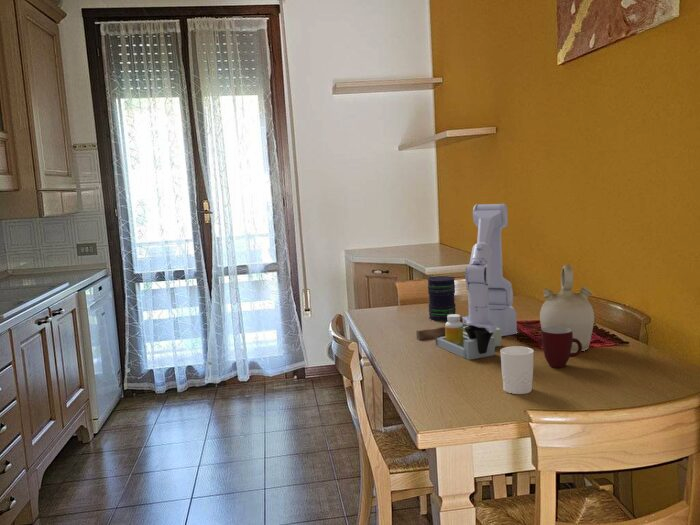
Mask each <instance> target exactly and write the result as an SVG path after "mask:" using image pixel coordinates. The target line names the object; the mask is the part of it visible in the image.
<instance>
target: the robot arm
mask: <svg viewBox="0 0 700 525" xmlns="http://www.w3.org/2000/svg"><path fill="white" fill-rule="evenodd" d="M508 216H509V215H508V206H507V204H506V203H493V204H492V203H487V204H486V203H485V204H483V203H482V204H478V203H475V205H474V206H473V208H472V220H473V223H474V224H475V227H476V228H477V240H476V241H477V242H476V243H475V244H474V245H472V248H471V254H470V259H469V263H468V264H469V265H468V266H467V265H466V267H465V271H464V278H465V284H466V286H465V287H466V291H467V295H468V297H467V299H468V301H467V302H468V303H467V304H468V305H467V306H468V315H466V316H462V318H461V319H462V323H464V324H466V325H468V327H465V331H466V332H467V334H468V336H469V339H475V338H477V343H478V351H479V353H480V354H483V353H486V352H487V348H488V344H489V341H490V338H491V336H492V334H493V333H494V332H497V328H499V329H501V337H504V336H505V337H507V336H511V335H518V334H519V331H518V330H517V328H518V326H517V312H516V309H515V308H514V307H513V302H514V291H513V284H512V282H511V281H509V279H506V278H505V277H504V276H503V274H504V273H503V270H504V269H503V250H502V248H503V247H502V245H503V243H502V233H503V232H502V231H503V229H505V228H507V227H508V223H509V221H508V220H509V218H508ZM517 333H518V334H517Z"/></svg>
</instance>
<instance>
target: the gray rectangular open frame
mask: <svg viewBox="0 0 700 525" xmlns="http://www.w3.org/2000/svg"><path fill="white" fill-rule="evenodd" d="M435 346H436V347H438V346H439V347H438V348H440V347H441V349H443V350H445V351H448V352H450V353H453V354H455V355H456V356H459V357H461V358H464V359H466V360H468V361H469V360H475V359H480V358H481V359H482V358H486V357H492V356H495V355H496V347H495V338H494V337H491V338H490V341H489V344H488V348H487V352H486V353H483V354H480V353H479V351H478V343H477V338H475V339H469V337H467V336H464V335H463V347H461V346H458V345H456V344H454V343H451V342H449V341H446V336H440V337H435Z"/></svg>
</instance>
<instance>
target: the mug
mask: <svg viewBox="0 0 700 525" xmlns="http://www.w3.org/2000/svg"><path fill="white" fill-rule="evenodd" d="M540 332H541V333H540V334H541V335H540V336H541V345H542V350H543V355H544V358H545V360H546V362H547V365H548V366H549V367H551V368H554V369H560V368H561V369H562V368H564V367H566V365H567V363H568V361H569V360H570V358H573V357H578V356H579V355H580V354H581V353H582V352H581V351H582V344H581V342H580V341H579V340H578V339H575V338H573V333H572V329H570V328H566V327H546V328H543V329H541V331H540ZM572 342H575V343H577V345H578V351H577V352H576V353H570V352H571V347H572Z"/></svg>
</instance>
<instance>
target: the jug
mask: <svg viewBox="0 0 700 525" xmlns="http://www.w3.org/2000/svg"><path fill="white" fill-rule="evenodd" d="M573 286H574V270H573V267H572V265H570V264H564V265H563V266H562V267H561V271H560V287H561V289H560V291H559V292H557V293H554V292H553V291H552V290H549V289H548V288H543V289H542V292H543V297H544V298H545V299H546V300H545V301H544V302H543V304H542V305H541V308H540V311H539V323H540V327H541V330H542V329H543V328H546V327H566V328H570V329H572V333H573V338H575V339H578V340H579V341H580V342H581V344H582V351H584V352H586V351H585V350H587V349H588V350H589V347H590V343H591V340H592V333H593V329H594V324H595V313H594V309H593V306H592V305H591V303H590V301H589V300H588V298H589V297H590V296H592V295H593V294H594V292H593V291H591V290H590V289H588V288H586V287H585V286H581V287H580V291H579V293H578V292H573V290H572V289H573ZM588 350H587V351H588ZM577 351H578V345H577V343H575V342H572V347H571V352H570V354H574V353H576V352H577Z"/></svg>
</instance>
